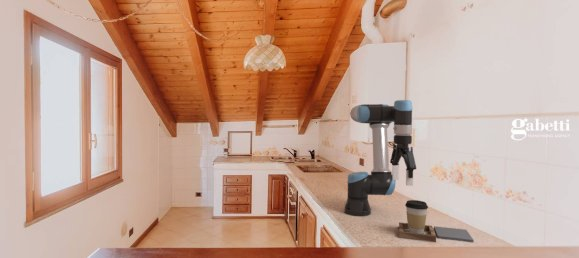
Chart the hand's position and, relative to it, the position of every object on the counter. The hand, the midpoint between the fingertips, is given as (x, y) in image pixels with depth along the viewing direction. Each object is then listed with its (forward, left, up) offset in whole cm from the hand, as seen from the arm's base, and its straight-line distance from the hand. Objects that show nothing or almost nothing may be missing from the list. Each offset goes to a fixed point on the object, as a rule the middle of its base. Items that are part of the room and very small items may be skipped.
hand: (402, 182), depth 134 cm
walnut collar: (-9, +7, -26) cm, 28 cm away
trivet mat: (-14, +23, -26) cm, 37 cm away
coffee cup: (-9, +7, -26) cm, 28 cm away
